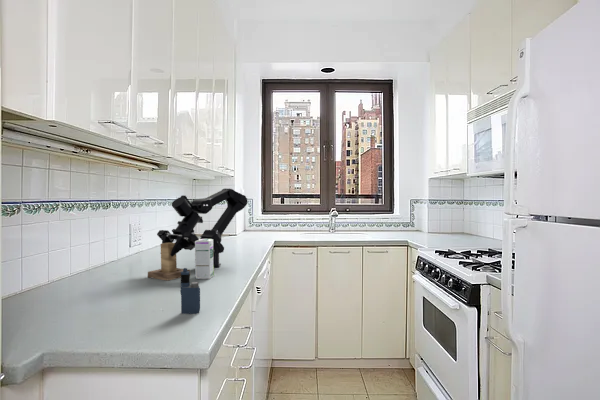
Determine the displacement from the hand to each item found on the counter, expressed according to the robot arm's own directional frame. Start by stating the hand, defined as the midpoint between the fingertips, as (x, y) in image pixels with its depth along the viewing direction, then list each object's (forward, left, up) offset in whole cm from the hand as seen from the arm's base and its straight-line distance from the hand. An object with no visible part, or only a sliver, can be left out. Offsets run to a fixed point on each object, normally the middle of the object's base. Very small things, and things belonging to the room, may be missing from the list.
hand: (166, 255), depth 152 cm
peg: (-1, +1, -8) cm, 8 cm away
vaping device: (+46, +18, -9) cm, 50 cm away
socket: (-1, +1, -8) cm, 8 cm away
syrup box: (+2, +15, -9) cm, 17 cm away
